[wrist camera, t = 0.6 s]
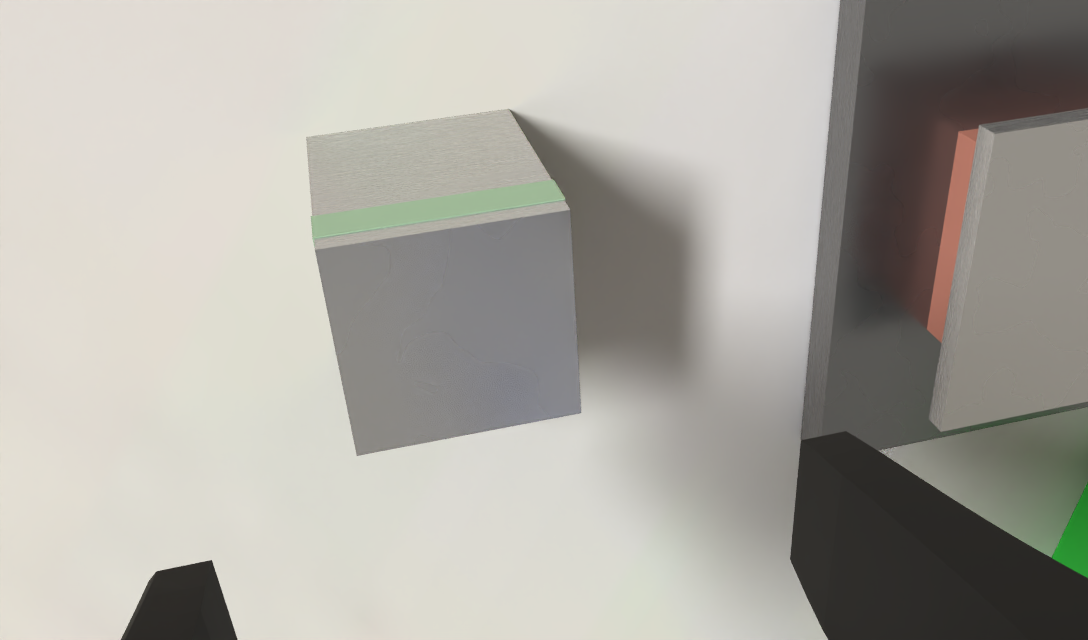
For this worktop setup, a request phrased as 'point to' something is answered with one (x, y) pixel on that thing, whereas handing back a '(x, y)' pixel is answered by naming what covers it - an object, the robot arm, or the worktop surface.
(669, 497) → the worktop surface
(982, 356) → the dark grey rectangular tray
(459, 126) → the green-striped metal cube
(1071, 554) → the mechanical part
